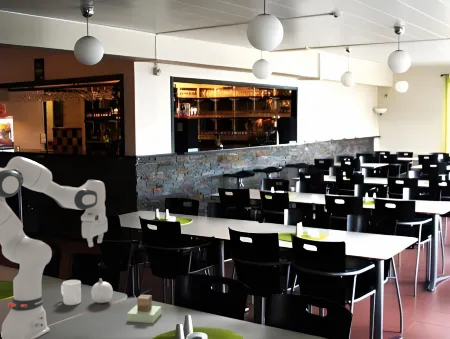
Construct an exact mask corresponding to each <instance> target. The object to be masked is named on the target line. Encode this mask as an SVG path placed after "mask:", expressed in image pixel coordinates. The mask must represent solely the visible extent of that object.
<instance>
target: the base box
mask: <svg viewBox="0 0 450 339" xmlns="http://www.w3.org/2000/svg"><path fill="white" fill-rule="evenodd" d="M161 315H162V306H159V305H152V309H151V310H150V311H149V312H142V311H137V304H136V305H135V306H134V307H132V308H131V309H130V310H129V311H128V312H127V313H126V316H127V317H126V321H127V322H133V323H147V324H154V323H155V322H156V321H157V320H158V319H159V317H160V316H161Z"/></svg>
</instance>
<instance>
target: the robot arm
mask: <svg viewBox="0 0 450 339" xmlns="http://www.w3.org/2000/svg"><path fill="white" fill-rule="evenodd" d="M22 186H23V187H24V188H27V189H28V190H31V191H35V192H39V193H43V194H45V195H46V196H49V197H50V198H52V199H53V200H54V201H55V202H56V203H57V205H58V206H60V207H61V208H63V209H72V210H73V209H74V210H80V211H81V210H82V211H83V210H85V211H84V213H83V214H82V215H81V216H80V220H81V236H82V239H86V241H87V244H88V247H89V248H92V247H94V242H93V239H94V237H96V236H97V244H101V243H102V242H103V238H104V233H106V232H108V218H107V216H106V205H105V201H106V187H105V183H104V182H103V181H101V180H96V179H88V180H87V181H86V182H85V183H84V184H82V185H81V186H79V187H74V186H73V187H72V186H70V185H60V184H58V183H56V182H54V181H53V174H52V171H50V169H48V168H47V167H45V166H44V165H43V164H40V163H38V162H36V161H34V160H32V159H29V158H26V157H23V156H14V157H12V158H11V159H10V160H9V161H8V163H7V164H6V166H5V167H0V245H1V254H2V255H3V256H4V258H6V259H7V260H9V261H10V262H12V263H16V264H19V269H18V273H17V275H16V276H15V277H14V278H13V280H12V283H13V284H12V287H13V288H12V289H13V297H12V299H11V301H9V302H8V303H7V307H8V308H10V310H9V312H8V314H7V316H6V317H5V319H4V321H3V323H2V325H1V332H0V333H1V337H2V339H37V338H38V337H41V336H42V335H45V334H46V333H48V332H50V327H49V326H48V323H47V322H48V321H47V312H46V310H45V309H44V307H43V304H44V296H43V294H42V280H43V273H44V269H45V267H46V265H48V264H49V263H50V261H51V260H52V259H51V258H52V255H53V254H52V253H53V251H52V248H51V246H49V244H47V243H46V242H43V240H39V239H34V238H31V237H29V236H28V235H26V233H25V232H24V230H23V228H24V225H23V223H22V221H21V219H19V217H18V216H17V215H16V214H15V212H14V211H13V210H12V208H11V207H10V206H9V205H8V203H7V202H6V198H10V197H13V196H15V195H16V194H17V193H18V192H19V191H20V189H21V187H22Z"/></svg>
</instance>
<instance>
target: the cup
mask: <svg viewBox="0 0 450 339" xmlns="http://www.w3.org/2000/svg"><path fill="white" fill-rule="evenodd" d="M60 293H61V295H62V298H63V301H62V302H63V304H64V305H66V306H75V305H78V304H79V305H80V303H81V301H82V282H81V280H79V279H69V280H65V281H63V282H62V283H61V285H60Z"/></svg>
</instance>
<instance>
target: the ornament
mask: <svg viewBox="0 0 450 339" xmlns="http://www.w3.org/2000/svg"><path fill="white" fill-rule="evenodd" d="M90 292H91V294H90V296H91V298H92V300H93V301H94V302H95V303H97V304H106V303H108V302H109V301H110V300H111V299H112V298H113V294H114V290H113V287H112V285H111V284H110V283H109V282H107V281H103V279H102V278H99V279H98V282H96V283H95V284H93V285H92V287H91V290H90Z"/></svg>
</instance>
